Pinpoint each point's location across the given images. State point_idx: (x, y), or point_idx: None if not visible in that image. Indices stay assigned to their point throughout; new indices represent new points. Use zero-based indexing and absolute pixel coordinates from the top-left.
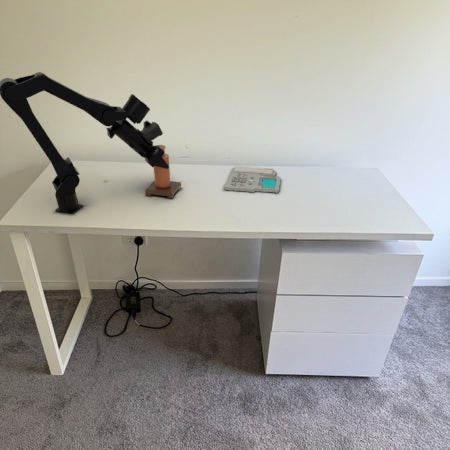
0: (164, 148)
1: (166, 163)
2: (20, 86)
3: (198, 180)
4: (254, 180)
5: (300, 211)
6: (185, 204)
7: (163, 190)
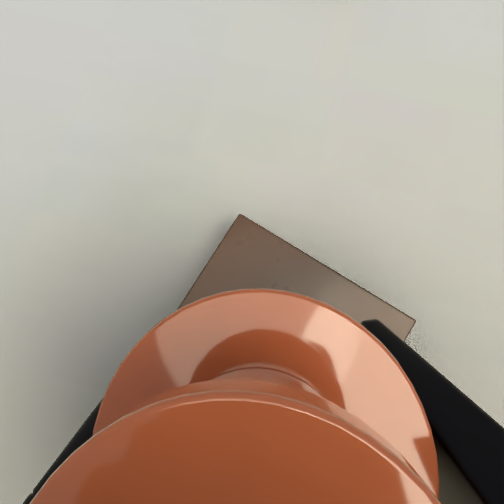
0: (416, 474)
1: (434, 372)
2: None
3: (148, 96)
4: None
5: None
6: (496, 254)
7: None
